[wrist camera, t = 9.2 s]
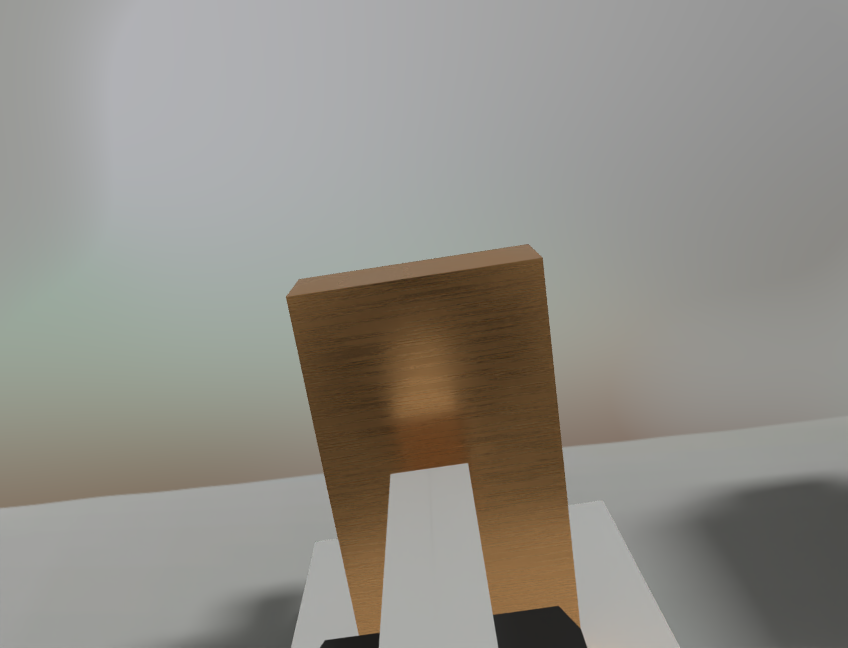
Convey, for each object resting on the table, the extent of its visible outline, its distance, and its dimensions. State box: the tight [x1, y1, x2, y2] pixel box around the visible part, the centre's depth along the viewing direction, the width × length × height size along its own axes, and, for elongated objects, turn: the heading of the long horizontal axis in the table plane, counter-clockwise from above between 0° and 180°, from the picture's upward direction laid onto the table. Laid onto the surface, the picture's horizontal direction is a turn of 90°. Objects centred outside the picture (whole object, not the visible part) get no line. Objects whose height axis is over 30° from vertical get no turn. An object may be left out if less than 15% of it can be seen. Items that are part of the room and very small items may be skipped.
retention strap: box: [286, 244, 580, 635], centre depth 21 cm, size 14×5×10 cm, turn 1°
